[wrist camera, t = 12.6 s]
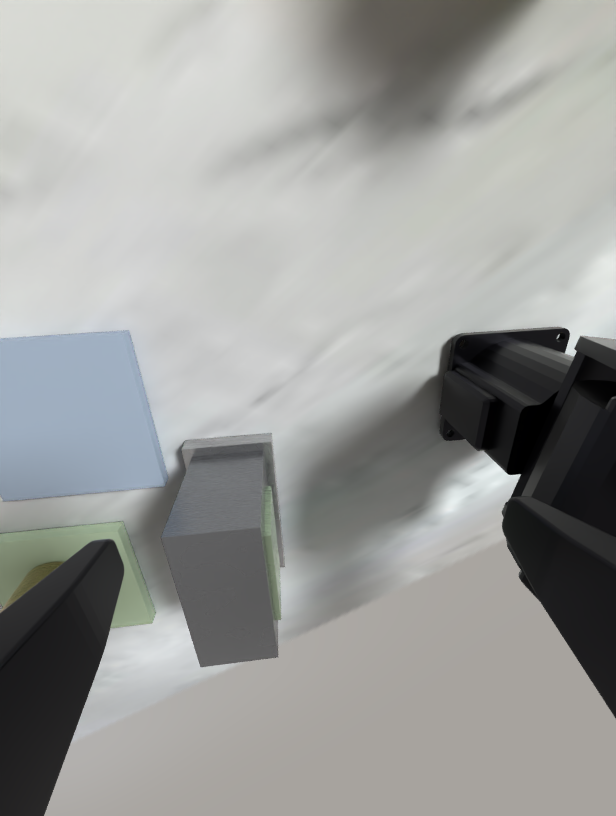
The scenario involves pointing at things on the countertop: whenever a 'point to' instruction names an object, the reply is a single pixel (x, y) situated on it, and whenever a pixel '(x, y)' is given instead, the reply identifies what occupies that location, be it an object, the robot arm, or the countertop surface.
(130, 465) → the slate mat
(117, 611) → the sage mat
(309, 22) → the countertop surface
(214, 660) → the grey block with base
